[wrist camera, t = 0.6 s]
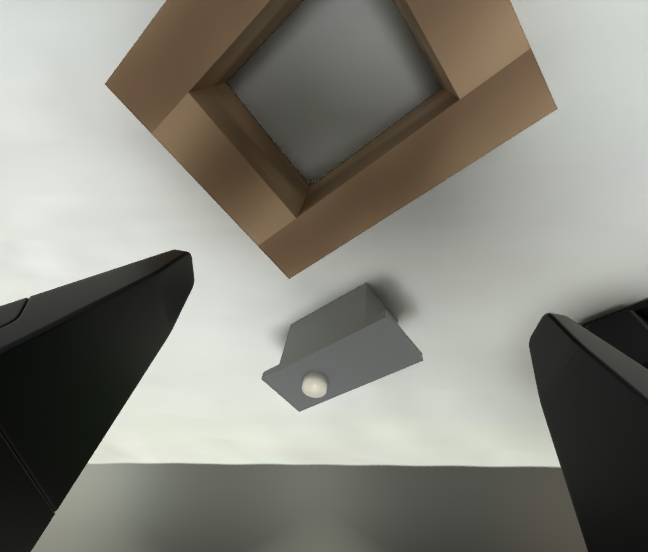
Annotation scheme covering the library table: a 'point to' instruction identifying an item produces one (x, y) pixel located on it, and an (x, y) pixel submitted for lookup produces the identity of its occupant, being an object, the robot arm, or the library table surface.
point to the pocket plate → (361, 168)
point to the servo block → (340, 350)
